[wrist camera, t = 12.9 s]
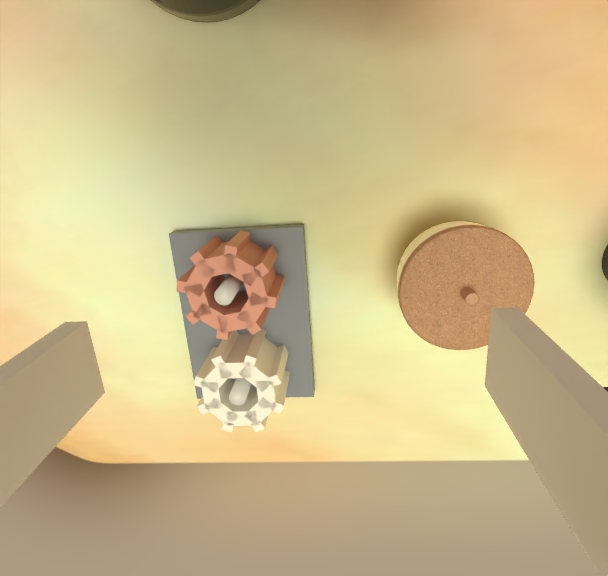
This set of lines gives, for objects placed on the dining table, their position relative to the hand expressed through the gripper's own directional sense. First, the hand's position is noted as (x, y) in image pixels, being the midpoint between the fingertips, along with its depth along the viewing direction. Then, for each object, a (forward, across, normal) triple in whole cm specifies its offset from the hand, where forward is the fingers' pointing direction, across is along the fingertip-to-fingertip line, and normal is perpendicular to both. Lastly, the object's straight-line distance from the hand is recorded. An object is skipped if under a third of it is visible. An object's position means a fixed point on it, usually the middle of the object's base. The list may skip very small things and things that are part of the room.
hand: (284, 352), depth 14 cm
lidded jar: (+29, +12, -6) cm, 32 cm away
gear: (+27, -8, -6) cm, 29 cm away
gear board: (+29, -8, -10) cm, 32 cm away
